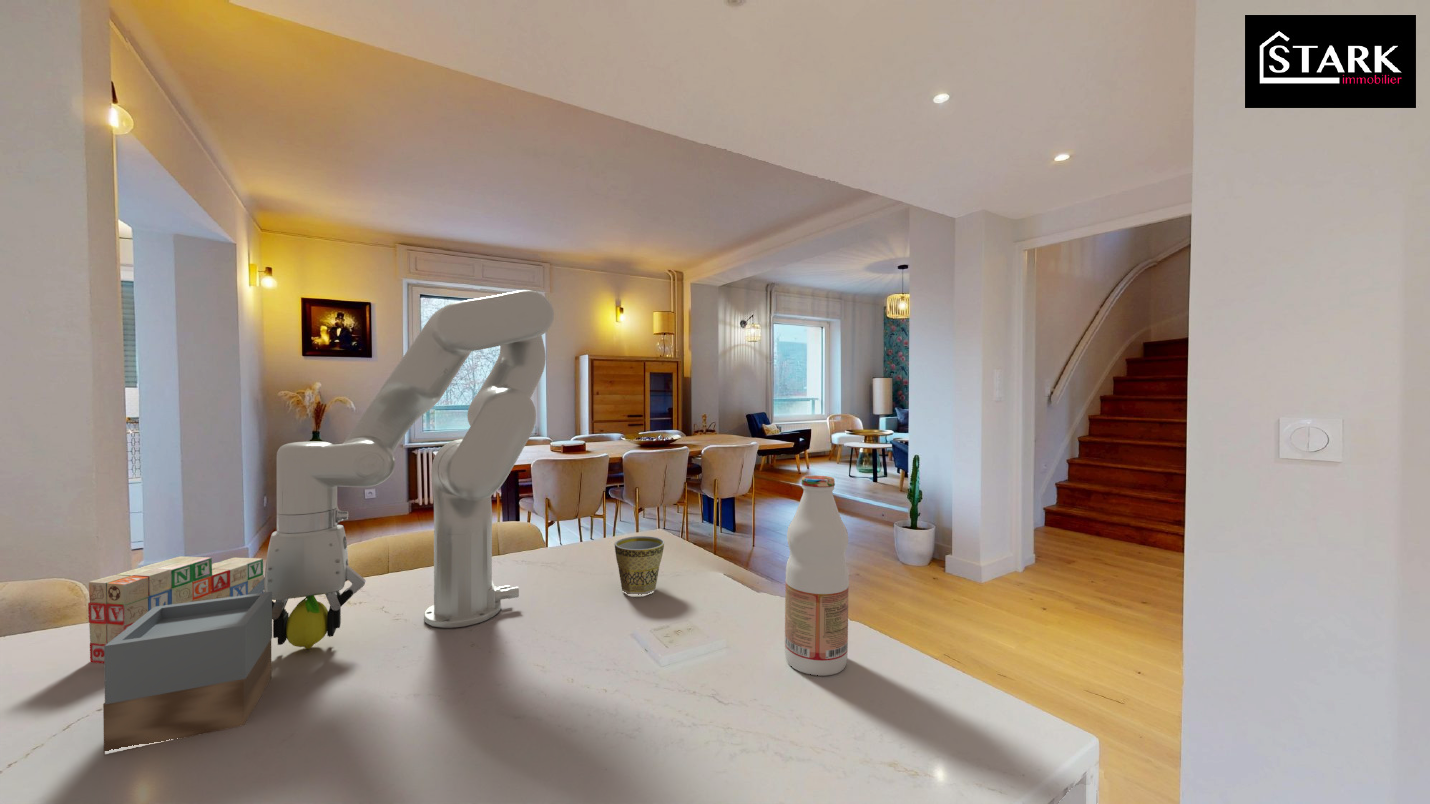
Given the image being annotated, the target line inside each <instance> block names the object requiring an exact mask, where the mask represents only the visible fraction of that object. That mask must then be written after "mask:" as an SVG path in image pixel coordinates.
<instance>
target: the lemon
mask: <svg viewBox="0 0 1430 804" xmlns="http://www.w3.org/2000/svg"><path fill="white" fill-rule="evenodd" d="M328 611H329V609H328V608H327V606H326V605H325V604H324V603H323V602H320V601H317V599H316V595H312V596H307V597H305V598H303V599H302V600H300V601H299V602H298V603H297V605H296V606H295V607H294V608H293V609H292V611H291V612H290V613H289V617H288V620H287V624H286V637H287V639H286V641H288V643H289V644H291V645H292V646H294V647H298V648H305V649H306V650H310V649H311V648H312V647H313V646H314V645H316V644H317V643H318V642H320V641H321V640H322V639H324V637H325V636H327V635H326V634H327V613H328Z"/></svg>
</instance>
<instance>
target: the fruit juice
mask: <svg viewBox="0 0 1430 804" xmlns="http://www.w3.org/2000/svg"><path fill="white" fill-rule="evenodd" d="M800 483H801V488H802V489H803V493H802V496H801V498H800V500H799V503H798V506H797V509H796V511H795V515H794V516H793V518H792V520H791V522H790V523H789V525H788V527H787V532H786V540H787V545H788V549H789V557H788V559H787V562H786V566H785V581H784V582H785V583H784V584H785V595H784V596H785V602H784V603H785V604H784V605H785V606H784V656H785V660H786V662H787V664H788V665H789V666H790V667H791V666H792V667H791V668H792V669H795V670H796V671H798V672H799V673H802V674H806V675H810V674H811V676H817V675H818V676H817V677H821V676H823V677H824V676H826V677H827V676H832V675H836V674H838V673H840V672H842V671H843V670H844V669H846V666H847V662H848V653H849V652H848V651H849V650H848V649H849V648H848V647H849V642H848V641H849V591H850V590H849V588H850V587H849V585H850V583H849V582H850V581H849V580H850V578H849V567H848V564H847V561H846V551H847V549H848V545H849V532H848V530H847V527H846V525H845V524H844V522H843V520H842V518H841V515H840V512H839V510H838V506H837V504H836V500H835V497H834V493H833V492H834V491H833V490H835V478H834V477H833V476H828V475H815V474H814V475H813V474H812V475H805V476H802V478H801V482H800Z"/></svg>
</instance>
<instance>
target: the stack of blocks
mask: <svg viewBox="0 0 1430 804" xmlns="http://www.w3.org/2000/svg"><path fill="white" fill-rule="evenodd" d="M212 559H213V558H212V557H205V556H204V557H202V556H201V557H200V556H181V555H179V556H177V557H173V558H169V559H166V560H162V561H158V562H154V563H151V564H148V565H144V566H141V567H138V568H135V569H129V570H127V571H123V572H120V573H117V574H113V575H108V576H104V577H102V578H98V579H94V580H91V581H88V594H89V595H88V596H89V597H88V600H89V602H88V603H87V604H88V605H87V606H88V607H87V609H88V610H87V611H88V617H87V618H88V622H89V661H90V663H96V664H97V663H98V664H104V646H105V645H106V644H108V643H109V642H110V641H111V640H113V639H114V638H115V637H116V636H118V635H119V634H120V633H122V632H123V631H124V630H125V629H127V628H128V627H129V626H131V625H132V624H133V623H134V622H136V621H137V620H138V619H139V618H141V617H142V616H143V615H145V614H146V613H147V612H148V611H150V610H151V609H152V608H154V607H156V606H163V605H171V604H179V603H187V602H195V601H203V600H210V599H218V598H226V597H234V596H242V595H247V594H248V593H249V592H250V591H251V590H252V589H253V588H254V587H255V586H256V585H257V584H258V583H259V582H260V581H261V580H262V579H263V578H264V577H265V574H264V558H258V557H257V558H255V557H235V556H234V557H231V558H228V559H225V560H220V561H219V562H214V563H212V561H213V560H212ZM262 593H264V590H263V591H262Z"/></svg>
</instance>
